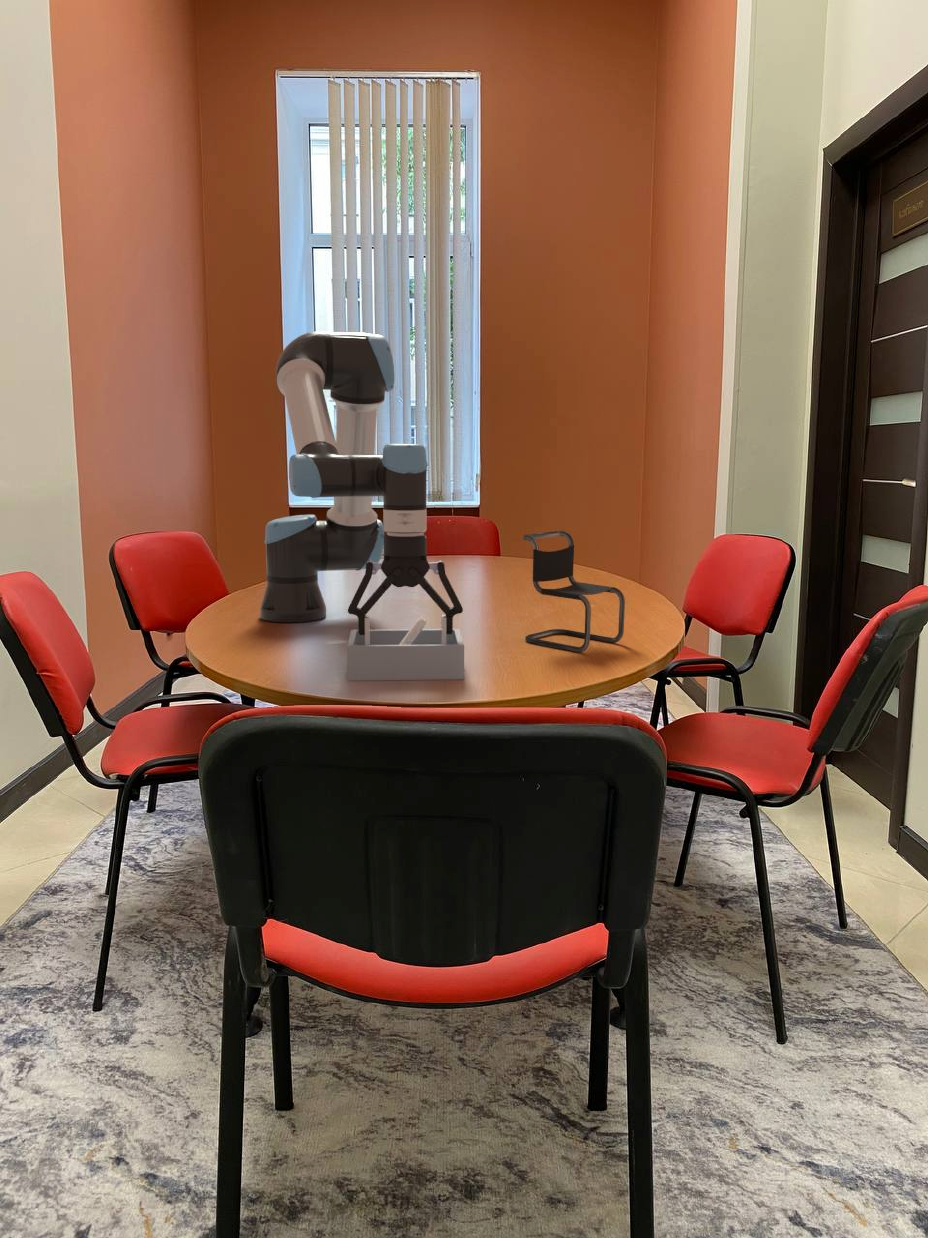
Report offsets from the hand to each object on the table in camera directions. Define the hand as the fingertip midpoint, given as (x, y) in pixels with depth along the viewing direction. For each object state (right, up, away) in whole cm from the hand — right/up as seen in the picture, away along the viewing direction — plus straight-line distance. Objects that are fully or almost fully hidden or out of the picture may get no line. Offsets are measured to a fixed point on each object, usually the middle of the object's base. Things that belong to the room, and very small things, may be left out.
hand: (405, 652), depth 162 cm
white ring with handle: (0, -3, +1) cm, 4 cm away
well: (0, -3, +1) cm, 3 cm away
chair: (+33, +1, +23) cm, 40 cm away
